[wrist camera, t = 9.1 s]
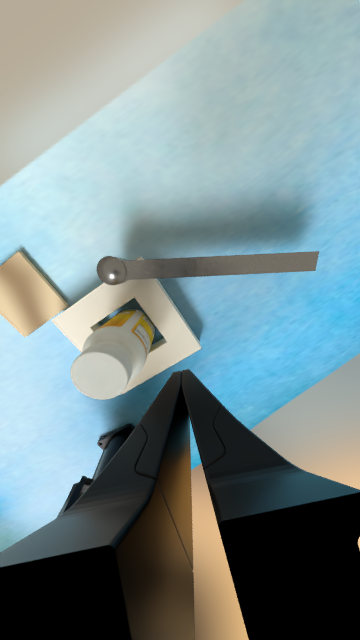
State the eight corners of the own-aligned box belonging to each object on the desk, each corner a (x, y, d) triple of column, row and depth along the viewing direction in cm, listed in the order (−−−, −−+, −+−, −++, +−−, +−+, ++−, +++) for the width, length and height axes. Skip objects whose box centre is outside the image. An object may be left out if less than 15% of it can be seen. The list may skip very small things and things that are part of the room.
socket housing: (125, 384, 23) (121, 394, 21) (63, 315, 20) (51, 320, 18) (199, 341, 21) (201, 348, 19) (143, 257, 18) (139, 256, 16)
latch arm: (109, 283, 17) (99, 286, 15) (105, 258, 16) (94, 257, 14) (298, 274, 17) (316, 275, 15) (302, 248, 16) (322, 246, 14)
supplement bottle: (162, 319, 20) (150, 361, 11) (145, 354, 22) (123, 417, 13) (120, 300, 20) (71, 329, 10) (106, 338, 21) (51, 392, 12)
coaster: (27, 335, 21) (24, 337, 20) (-21, 287, 19) (-26, 288, 18) (69, 305, 20) (66, 306, 19) (22, 251, 18) (18, 251, 17)
